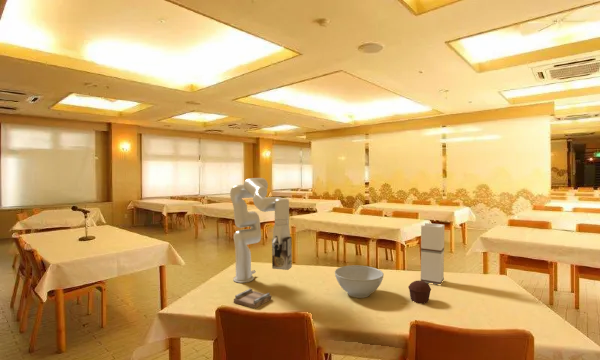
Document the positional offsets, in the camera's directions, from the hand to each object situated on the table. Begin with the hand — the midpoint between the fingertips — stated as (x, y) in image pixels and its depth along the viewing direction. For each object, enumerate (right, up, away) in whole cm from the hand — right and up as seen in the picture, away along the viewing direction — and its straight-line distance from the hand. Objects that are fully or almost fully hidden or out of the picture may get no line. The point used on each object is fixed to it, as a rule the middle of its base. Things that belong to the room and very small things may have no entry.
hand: (281, 254), depth 178 cm
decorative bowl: (+43, -24, +10) cm, 50 cm away
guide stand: (-15, -25, +1) cm, 29 cm away
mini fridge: (+91, -23, +29) cm, 98 cm away
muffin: (+73, -24, +1) cm, 77 cm away
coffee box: (0, -7, 0) cm, 7 cm away
